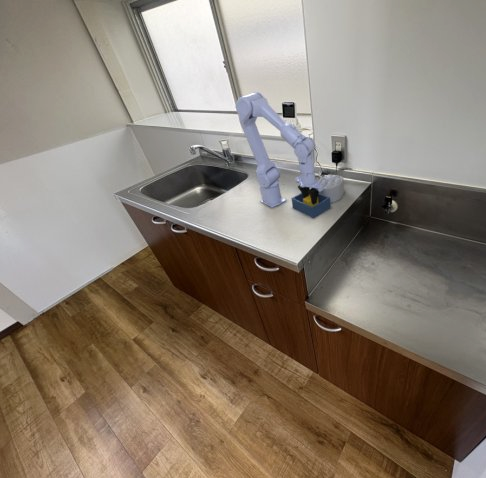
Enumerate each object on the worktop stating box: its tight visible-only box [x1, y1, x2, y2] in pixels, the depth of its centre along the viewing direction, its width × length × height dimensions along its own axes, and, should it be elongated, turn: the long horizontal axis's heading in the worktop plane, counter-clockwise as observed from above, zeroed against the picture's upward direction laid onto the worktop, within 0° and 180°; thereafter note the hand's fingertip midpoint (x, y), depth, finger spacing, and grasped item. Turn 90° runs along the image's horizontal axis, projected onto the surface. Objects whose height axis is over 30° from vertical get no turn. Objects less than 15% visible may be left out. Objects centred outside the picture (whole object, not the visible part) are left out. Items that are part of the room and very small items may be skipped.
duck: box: [303, 194, 319, 207], centre depth 105 cm, size 4×6×6 cm
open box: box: [291, 192, 332, 219], centre depth 106 cm, size 13×10×5 cm
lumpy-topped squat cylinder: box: [317, 174, 345, 204], centre depth 111 cm, size 10×13×9 cm
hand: (310, 201), depth 106 cm, fingers closed on duck, 4 cm apart
